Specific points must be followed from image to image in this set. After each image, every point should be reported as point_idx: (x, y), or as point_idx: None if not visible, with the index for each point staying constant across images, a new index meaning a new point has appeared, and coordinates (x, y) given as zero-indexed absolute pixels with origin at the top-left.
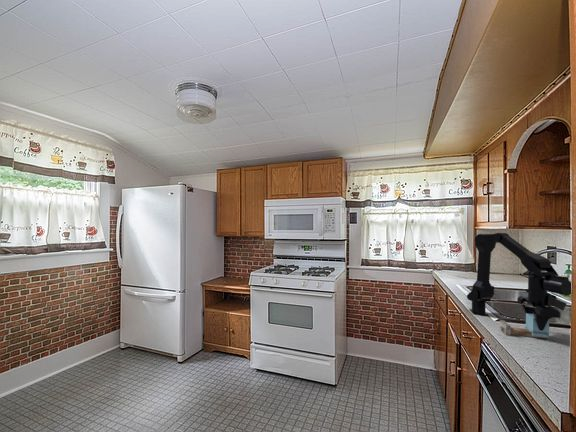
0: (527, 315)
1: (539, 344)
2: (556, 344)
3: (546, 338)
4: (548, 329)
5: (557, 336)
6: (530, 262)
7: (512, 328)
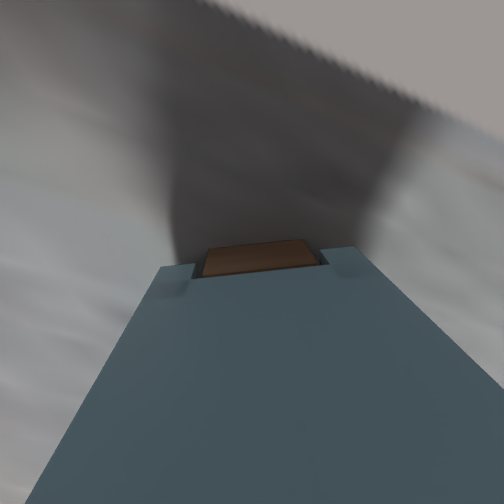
0: None
1: (486, 354)
2: (443, 198)
3: (304, 245)
4: (412, 307)
5: (106, 48)
6: None
7: None
